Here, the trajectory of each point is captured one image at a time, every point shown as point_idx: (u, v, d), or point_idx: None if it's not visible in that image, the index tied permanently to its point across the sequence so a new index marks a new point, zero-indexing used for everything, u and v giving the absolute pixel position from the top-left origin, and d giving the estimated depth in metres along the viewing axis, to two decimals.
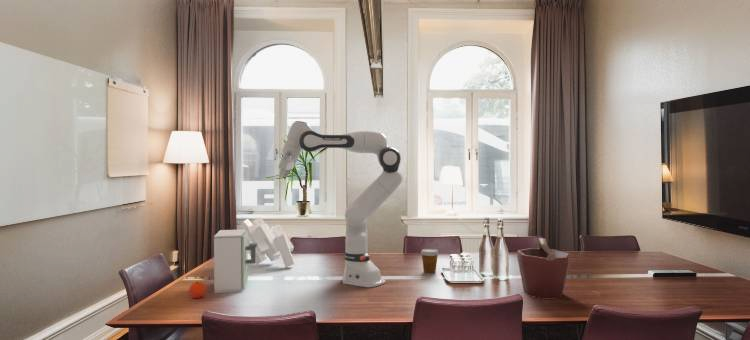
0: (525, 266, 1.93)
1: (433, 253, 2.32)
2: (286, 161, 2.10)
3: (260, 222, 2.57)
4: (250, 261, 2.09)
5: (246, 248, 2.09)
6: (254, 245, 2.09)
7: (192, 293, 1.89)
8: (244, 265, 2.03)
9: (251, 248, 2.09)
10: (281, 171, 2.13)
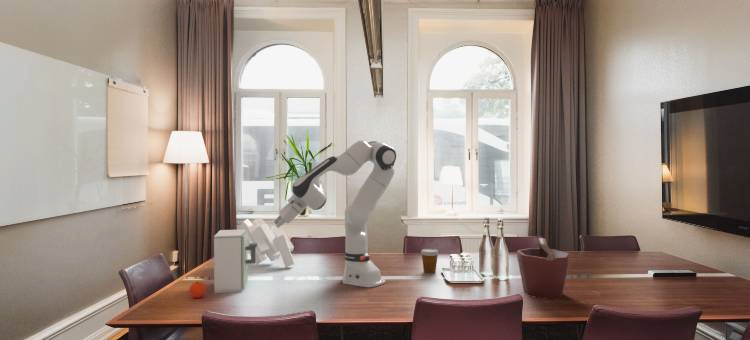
0: (525, 266, 1.93)
1: (433, 253, 2.32)
2: None
3: (260, 222, 2.57)
4: (250, 261, 2.09)
5: (246, 248, 2.09)
6: (254, 245, 2.09)
7: (192, 293, 1.89)
8: (244, 265, 2.03)
9: (251, 248, 2.09)
10: None
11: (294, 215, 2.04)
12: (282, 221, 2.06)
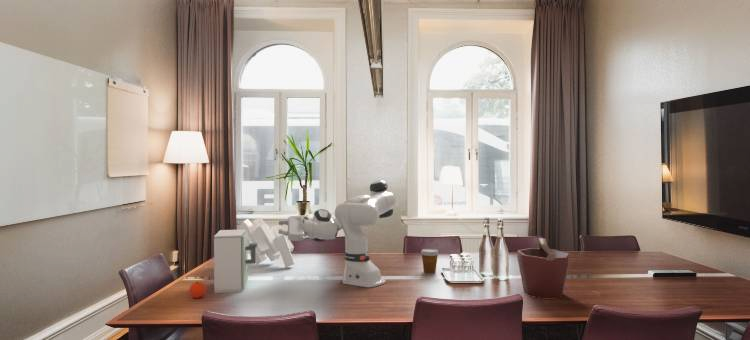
0: (525, 266, 1.93)
1: (433, 253, 2.32)
2: (297, 239, 2.09)
3: (260, 222, 2.57)
4: (250, 261, 2.09)
5: (246, 248, 2.09)
6: (254, 245, 2.09)
7: (192, 293, 1.89)
8: (244, 265, 2.03)
9: (251, 248, 2.09)
10: (285, 232, 2.10)
11: None
12: None
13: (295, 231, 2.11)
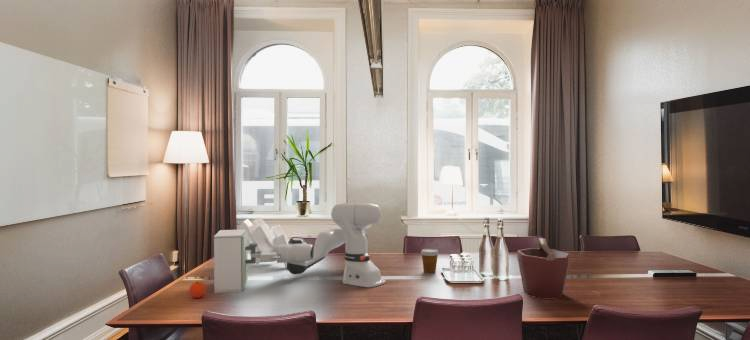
0: (525, 266, 1.93)
1: (433, 253, 2.32)
2: (269, 260, 2.02)
3: (260, 222, 2.57)
4: (250, 261, 2.09)
5: (246, 248, 2.09)
6: (254, 245, 2.09)
7: (192, 293, 1.89)
8: (244, 265, 2.03)
9: (251, 248, 2.09)
10: (257, 255, 2.08)
11: None
12: None
13: (267, 253, 2.05)
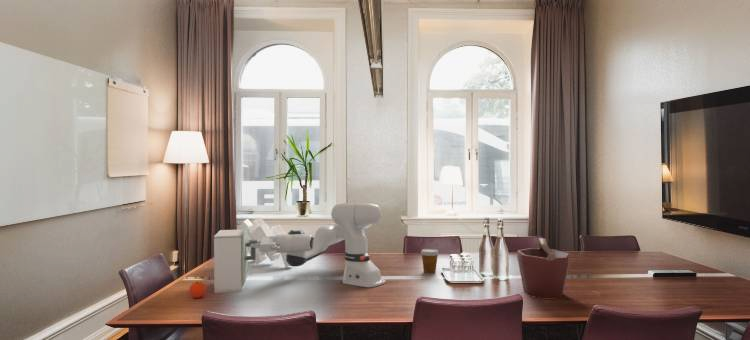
0: (525, 266, 1.93)
1: (433, 253, 2.32)
2: (268, 250, 2.02)
3: (260, 222, 2.57)
4: (250, 258, 2.09)
5: (246, 244, 2.09)
6: (254, 241, 2.09)
7: (192, 293, 1.89)
8: (244, 261, 2.03)
9: None
10: (257, 245, 2.07)
11: None
12: None
13: (266, 243, 2.05)
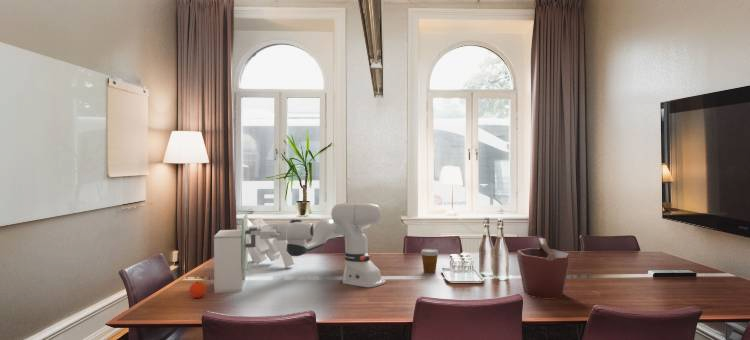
0: (525, 266, 1.93)
1: (433, 253, 2.32)
2: (269, 237, 2.02)
3: (260, 222, 2.57)
4: (250, 245, 2.09)
5: (246, 232, 2.09)
6: (254, 229, 2.09)
7: (192, 293, 1.89)
8: (244, 248, 2.03)
9: None
10: (257, 232, 2.07)
11: None
12: None
13: (267, 230, 2.05)
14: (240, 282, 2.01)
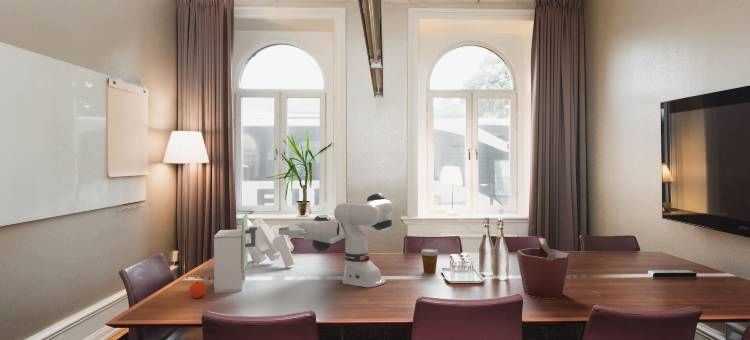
0: (525, 266, 1.93)
1: (433, 253, 2.32)
2: (297, 236, 2.05)
3: (260, 222, 2.57)
4: (250, 244, 2.09)
5: (246, 231, 2.09)
6: (254, 228, 2.09)
7: (192, 293, 1.89)
8: (244, 248, 2.03)
9: (251, 231, 2.09)
10: (285, 232, 2.07)
11: None
12: None
13: (295, 229, 2.07)
14: (240, 282, 2.01)
